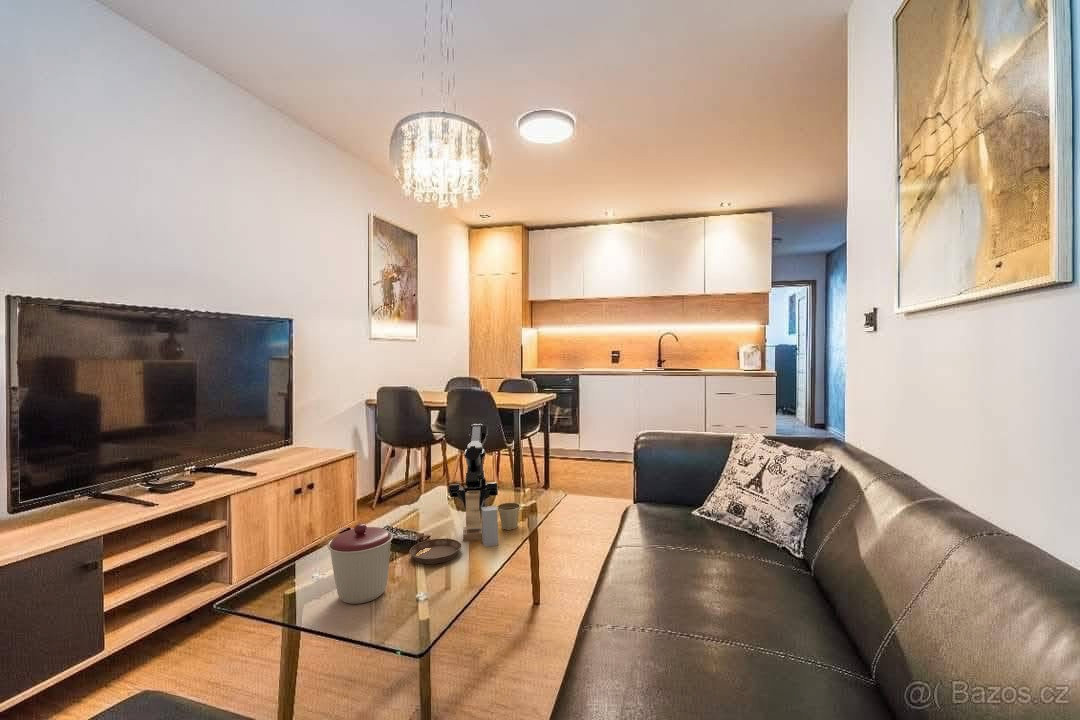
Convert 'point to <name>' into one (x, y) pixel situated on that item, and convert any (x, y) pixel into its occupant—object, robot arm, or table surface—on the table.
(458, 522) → the table surface
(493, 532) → the grey pillar
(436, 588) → the table surface
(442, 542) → the plant saucer
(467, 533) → the walnut block
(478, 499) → the oak pillar
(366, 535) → the canister
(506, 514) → the flower pot
